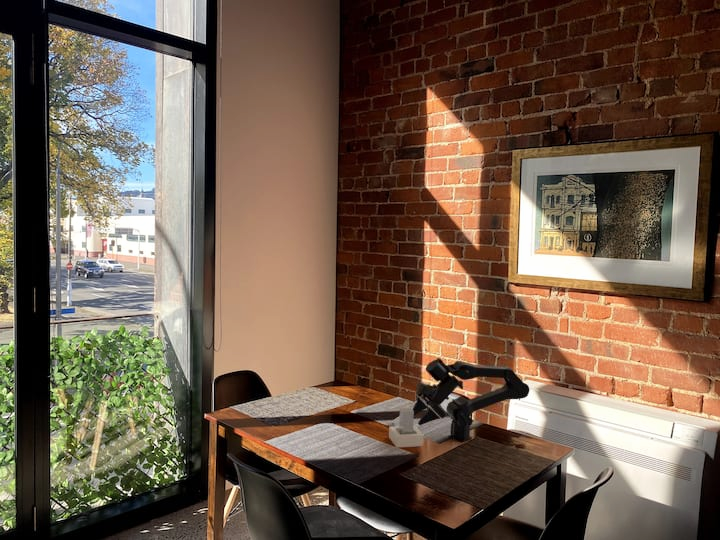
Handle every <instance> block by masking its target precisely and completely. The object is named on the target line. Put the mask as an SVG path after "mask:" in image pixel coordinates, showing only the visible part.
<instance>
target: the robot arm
mask: <svg viewBox="0 0 720 540" xmlns="http://www.w3.org/2000/svg"><path fill="white" fill-rule="evenodd" d="M425 372H427V374H429V376H431V378H432V379H434V380H435V381H436V382H438V383H437V385H436V384H432V385H430V384H427V383H424V382H422V381H418V384H417V385H416V388H415V390H417V391H415V394H416V395H415V403H414V406H413V408H411V409H412V410H413V411H414V416H417V415H418V414H419V413H421V412H423V411H424V410H425V412H424V414H423V415H422V416H421V418H420V419H419V420H418V422H417V424H418V426H423V425H425V424H427V423H431V422H433V421H435V420H441V419H444V418H445V417H446V416H447V414H448V415H449V417H450V419H451V424H450V435H448V438H450V439H452V440H455V441H457V442H460V443H464V442H466V441H469V440H471V439H473V436H470V432H471V426H472V425H473V422H474V419H472V417H471V416H472V414H473V413H475V412H476V411H479V410H482V409H485V408H488V407H490V406H493V405H496V404H498V403H501V402H504V401H507V400H520V399H525V398H527V397H528V396H529V394H530V387H529V385H528V384H527V383H525V382H523V380H522V379H521V378H520V377H519V376H518V375H517V374H516V373H515V371H514V370H513V369H512V368H510V367H508V366H507V365H504V366H503V365H502V366H501V365H500V366H496V365H476V364H472V363H470V362H466V361H462V360H456V361H455V362H454V363H451V364H447V365H446V364H445V363H444V361H443V360H442V358H440V357H437V358H436V359H434V360H432V361H430V362H428V364H427V365H426V367H425ZM450 374H451V375H450ZM458 378H459V379H458ZM476 378H495V379H496V378H497V379H499V378H500V379H503V381H504V385H502V387H500V388H497V389H494V390H492V391H489V392H486V393H484V394H481V395H479V396H476V397H473V398H472V397H471V398H470V399H466V398H465V397H463V396H459V397H457V398H455V399H453V398H452V399H451V401H449V402H448V403H447V406H446V410H445V409H444V408H443V407H442V403H444V401H448V400H449V399H450V397H449V396H450V395H451V394H452V393H453V391H455V390H456V389H457V388H459V389H461V390H464V382H463V380H464V381H467V380H473V379H476Z"/></svg>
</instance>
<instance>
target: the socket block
mask: <svg viewBox="0 0 720 540" xmlns="http://www.w3.org/2000/svg"><path fill="white" fill-rule="evenodd" d="M388 427H389V426H388ZM424 437H425V435H424V434H423V433H422V432H421V430H420V429H419V428H418V427H417V426H416V425H415V424H413V434H402V435H400V434H399V425H397V426H395V427H389V428H388V439H389V440H390V442H392V443H393V445H394V446H395V447H396V448H410V447H413V448H414V447H424Z"/></svg>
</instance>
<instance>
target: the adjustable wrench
mask: <svg viewBox="0 0 720 540" xmlns="http://www.w3.org/2000/svg"><path fill="white" fill-rule="evenodd" d="M405 408H410V406H406V407H405ZM399 422H400V415H399V416H398V417H396V418H395V419H393V420H391V422H389V423H388V427H395V426H399Z"/></svg>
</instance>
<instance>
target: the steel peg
mask: <svg viewBox="0 0 720 540" xmlns="http://www.w3.org/2000/svg"><path fill="white" fill-rule="evenodd" d="M412 409H413V408H412V407H409V408H406V407H400V408H399V416H400V422H399V424H398V426H399V434H400V435H402V434H413V426H414V419H415V415H414V411H413V410H412Z"/></svg>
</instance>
